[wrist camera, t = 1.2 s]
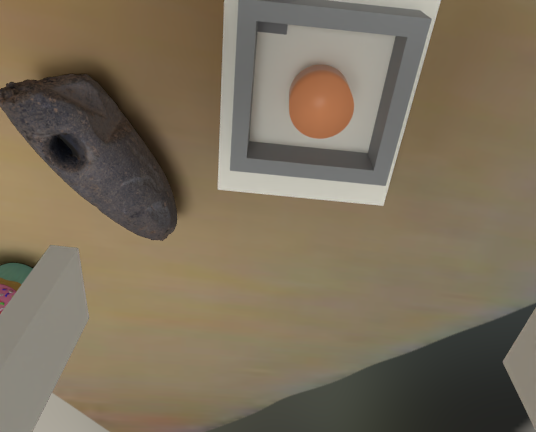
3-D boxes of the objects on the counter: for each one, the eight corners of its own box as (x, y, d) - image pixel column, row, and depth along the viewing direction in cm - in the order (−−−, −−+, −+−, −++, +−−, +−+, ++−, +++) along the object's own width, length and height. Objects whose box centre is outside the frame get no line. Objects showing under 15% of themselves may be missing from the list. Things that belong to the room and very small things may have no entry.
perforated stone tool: (203, 201, 38) (188, 252, 32) (152, 224, 39) (129, 278, 34) (82, 35, 31) (35, 63, 25) (26, 71, 32) (-30, 106, 26)
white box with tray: (234, -77, 27) (221, -74, 21) (434, -55, 27) (470, -46, 22) (224, 163, 36) (212, 208, 30) (374, 178, 36) (389, 225, 31)
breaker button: (292, 61, 26) (293, 73, 24) (354, 67, 26) (360, 80, 24) (285, 120, 28) (285, 135, 26) (343, 126, 28) (347, 141, 26)
